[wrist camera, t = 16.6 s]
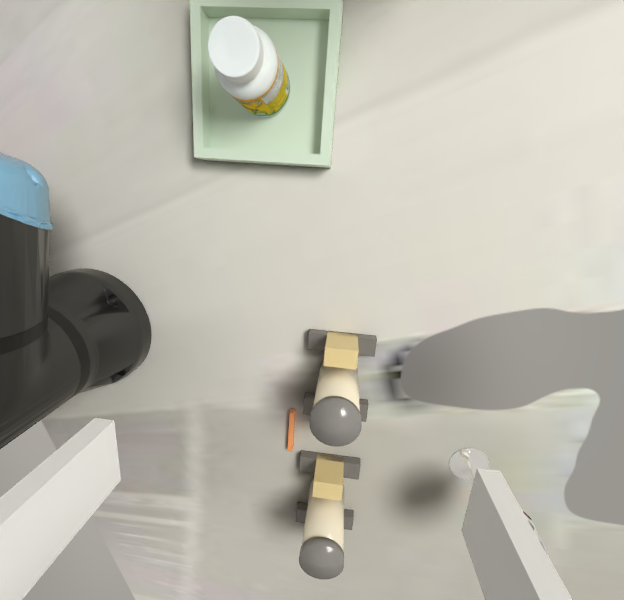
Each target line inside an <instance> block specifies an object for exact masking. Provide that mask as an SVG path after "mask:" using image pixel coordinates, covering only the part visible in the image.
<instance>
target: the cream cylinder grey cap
mask: <svg viewBox="0 0 624 600" xmlns="http://www.w3.org/2000/svg"><path fill="white" fill-rule="evenodd" d="M310 429H311V431H312V433H313V435H314V436H315V437H316V438H317V439H318V440H319V441H320V442H322V443H324V444H326V445H329V446H344V445H347V444H350V443H351V442H353V441H354V440H355V439H356V438H357V437H358V436H359V434H360V431H361V414H360V406H359V385H358V370H355V369H346V368H337V367H328V366H324V362H323V363H322V365H321V367H320V372H319V377H318V383H317V388H316V394H315V400H314V405H313V409H312V411H311V416H310Z"/></svg>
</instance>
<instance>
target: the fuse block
mask: <svg viewBox="0 0 624 600" xmlns="http://www.w3.org/2000/svg"><path fill="white" fill-rule="evenodd" d="M376 342H377V338H376V336H373V335H364V334H354V333H344V332H334V331H324V330H315V329H310V331H309V338H308V350H316V351H325V354H324V366H328V367H337V368H346V369H355V370H357V361H358V355H363V356H372V357H375V349H376ZM314 400H315V394H314V393H305V397H304V410H303V414H307V415H311V411H312V409H313V405H314ZM359 406H360V414H361V421H364V422H366V418H367V410H368V400H365V399H359ZM294 422H295V409H291V410H290V417H289V435H288V451H292V449H293V438H294ZM299 471H301V472H308V473H315V475H314V484H313V495H312V497H317V498H324V499H331V500H338V501H341V500H342V491H343V477H344V478H351V479H359V472H360V458H355V457H347V456H340V455H332V454H325V453H317V452H310V451H302V450H301V455H300V468H299ZM307 506H308V504H306V503H299V502H298V504H297V511H296V522H302V523H305V520H306V513H307ZM352 525H353V510H347V509H344V529H348V530H352Z"/></svg>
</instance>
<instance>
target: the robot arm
mask: <svg viewBox="0 0 624 600" xmlns="http://www.w3.org/2000/svg"><path fill="white" fill-rule="evenodd" d="M50 230H53V224H52V223H51V222H50V206H49V188H48V184H47V182H46V180H45V178H44V176H43V175H42V174H41V173H40V172H39V171H38V170H37V169H36V168H34V167H33V166H31V165H30V164H28V163H26V162H24V161H22V160H19V159H17V158H14V157H11V156H9V155H6V154H3V153H0V449H1V448H2V447H4V446H5V445H7V444H8V443H9V442H11V441H12V440H13V439H15V438H16V437H18V436H19V435H20V434H22V433H23V432H25V431H26V430H27V429H29V428H30V427H32V426H33V425H34V424H36V423H37V422H38V421H40V420H41V419H43V418H44V417H45V416H47V415H48V414H50V413H51V412H52V411H54V410H55V409H56V408H58V407H59V406H61V405H62V404H63V403H65V402H66V401H67V400H69V399H70V398H72V397H73V396H75V395H76V394H77V393H80V392H84V391H87V390H91V389H94V388H98V387H101V386H105V385H108V384H111V383H114V382H117V381H119V380H121V379H123V378H124V377H126V376H127V375H128V374H130V373H131V372H132V371H134V370H135V369H136V368H137V367H139V366H140V364H141V363H142V362H143V361H144V359H145V358H146V356H147V354H148V351H149V348H150V344H151V327H150V322H149V318H148V315H147V313H146V310H145V308H144V306H143V305H142V303H141V301H140V300H139V298H138V297H137V296H136V295H135V293H134V292H133V291H132V290H131V289H130V288H129V287H128V286H127V285H125V284H124V283H123V282H122V281H120V280H119V279H117V278H115V277H114V276H112V275H110V274H107V273H105V272H102V271H99V270H94V269H75V270H71V271H67V272H63V273H59V274H56V275H53V276H51V277H49V251H50ZM120 481H121V476H120V467H119V458H118V449H117V440H116V431H115V423H114V420H108V419H100V418H94V419H93V420H92V421H91V422H89V423H88V424H87V425H86V426H85V427H84V428H82V429H81V430H80V431H79V432H78V433H76V434H75V435H74V436H73V437H72V438H70V439H69V440H68V441H67V442H66V443H65V444H63V445H62V446H61V447H60V448H59V449H57V450H56V451H55V452H54V453H53V454H51V455H50V456H49V457H48V458H47V459H46V460H44V461H43V462H42V463H41V464H40V465H39V466H37V467H36V468H35V469H34V470H33V471H31V472H30V473H29V474H28V475H27V476H25V477H24V478H23V479H22V480H21V481H19V482H18V483H17V484H16V485H15V486H13V487H12V488H11V489H10V490H9V491H8V492H6V493H5V494H4V495H3V496H2V497H0V600H22V599H23V598H24V597H25V595H26V594H27V593H28V592H29V591H30V589H31V588H32V587H33V586H34V584H35V583H36V582H37V581H38V580H39V578H40V577H41V576H42V575H43V574H44V572H45V571H46V570H47V569H48V568H49V566H50V565H51V564H52V563H53V562H54V560H55V559H56V558H57V557H58V555H59V554H60V553H61V552H62V551H63V549H64V548H65V547H66V546H67V545H68V543H69V542H70V541H71V540H72V538H73V537H74V536H75V535H76V534H77V533H78V531H79V530H80V529H81V528H82V526H83V525H84V524H85V523H86V521H87V520H88V519H89V518H90V517H91V516H92V514H93V513H94V512H95V511H96V510H97V508H98V507H99V506H100V505H101V504H102V502H103V501H104V500H105V499H106V497H107V496H108V495H109V494H110V493H111V491H112V490H113V489H114V488H115V487H116V485H117V484H118V483H119V482H120ZM462 533H463V536H464V539H465V542H466V545H467V548H468V551H469V554H470V557H471V559H472V562H473V565H474V568H475V571H476V574H477V577H478V580H479V583H480V586H481V589H482V592H483V595H484V597H485V600H572V598H571V596H570V595H569V593H568V591H567V589H566V588H565V586H564V584H563V582H562V580H561V579H560V577H559V575H558V573H557V572H556V570H555V568H554V566H553V564H552V563H551V561H550V559H549V557H548V555H547V554H546V552H545V550H544V548H543V547H542V545H541V543H540V541H539V539H538V538H537V536H536V534H535V532H534V531H533V529H532V527H531V525H530V523H529V522H528V520H527V518H526V516H525V514H524V513H523V511H522V509H521V507H520V506H519V504H518V502H517V500H516V498H515V497H514V495H513V493H512V491H511V490H510V488H509V486H508V484H507V482H506V481H505V479H504V477H503V475H502V473H501V472H500V471H496V470H488V469H481V468H477V469H476V473H475V477H474V481H473V486H472V490H471V494H470V498H469V502H468V506H467V510H466V514H465V518H464V522H463V526H462Z"/></svg>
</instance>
